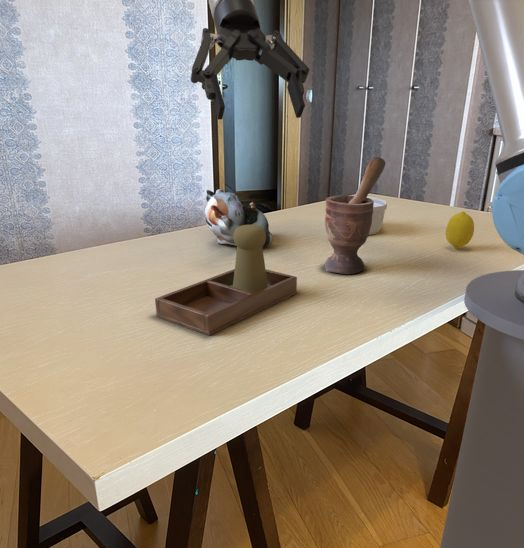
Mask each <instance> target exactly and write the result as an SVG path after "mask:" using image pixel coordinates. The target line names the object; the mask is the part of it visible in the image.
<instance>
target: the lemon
mask: <svg viewBox="0 0 524 548" xmlns="http://www.w3.org/2000/svg"><path fill="white" fill-rule="evenodd" d="M474 233H475V222H474V219H473V217H471V215H469V214H468V213H466V211H462V210H461V211H460V212H458V213H456V214H454V215H453V216H451V217H450V218H449V220H448V222H447V225H446V229H445V237H446V241H447V242H448V243H449V245H451V246H453V248H454V249H455V250H459V249H460V248H461V247H465V246H466V245H468V244H469V243H470V242H471V240H472V238H473V237H474Z"/></svg>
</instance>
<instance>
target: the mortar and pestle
mask: <svg viewBox="0 0 524 548" xmlns="http://www.w3.org/2000/svg"><path fill="white" fill-rule="evenodd" d="M385 166H386V161H385V159H384V158H381V157H379V156H374V157H372V158H371V160H370V161H369V162H368V165H367V166H366V168H365V172H364V175H363V177H362V180H361V182H360V183H359V187H358V189H357V190H356V193H355V194H354V195H346V194H340V195H331V196H328V197H326V198H325V216H324V217H325V218H324V227H325V228H324V229H325V232H326V234H327V235H326V236H327V237H326V238H327V241H328V242H329V244H330V245H331V247H332V249H333V253H332V254H331V256H329V257H327V258H326V260H325V262H324V269H325V270H326V271H325V272H331V273H336V274H342V275H343V274H344V275H353V274H357V273H361V272H362V271H364V269H365V263H364V261H363V259H362V258H361V257H360V256H359V255H358V251H359V250H360V248H361V247H362V246H364V244H365V243H366V242H367V240H368V238H369V237H368V236H370V235H369V232H370V228H371V224H372V215H373V204H374V201H373V200H371V199H369V198H366V197H368V195H369V194H370V192H371V191H372V189H373V187H374V186H375V184H376V183H377V182H378V180H379V179H380V177H381V175H382V173H383V172H384V169H385Z"/></svg>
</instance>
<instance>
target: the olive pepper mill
mask: <svg viewBox="0 0 524 548" xmlns="http://www.w3.org/2000/svg"><path fill="white" fill-rule="evenodd" d="M233 239H234V243H235V244H236V245H235V246H236V254H235V264H234V269H235V271H234V281H233V287H235V288H238V289H242V290H245V291H249V292H252V293H256V292H258V291H260V290H263V289H265V288H267V287H268V285H267V277H266V270H265V269H266V264H265V256H264V248H263V247H262V246H263V245H264V243H265V240H266V233H265V231H264V229H263V228H262V227H260V226H257V225H242V226H239V227H237V228H236V229H235V231H234V235H233Z"/></svg>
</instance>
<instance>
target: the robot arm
mask: <svg viewBox="0 0 524 548" xmlns="http://www.w3.org/2000/svg"><path fill="white" fill-rule="evenodd" d="M468 4H469V8H470V12H471V15H472V19H473V24H474V28H475V33H476V36H477V40H478V44H479V49H480V52H481V57H482V61H483V63H484V69H485V72H486V77H487V80H488V84H489V89H490V92H491V93H490V94H491V97H492V100H493V105H494V109H495V113H496V117H497V121H498V125H499V129H500V133H501V137H502V142H503V147H502V150H501V152H500V153H499V155H498V157H497V159H496V160H495V163H494V164H495V169H496V173H497V177H498V180H499V185H498V189H497V191H496V194H495V195H494V197H493V201H492V208H491V216H492V221H493V225H494V228H495V230H496V232H497V234H498V236H499V237H500V239H501V241H503V242H504V243H505V244H506V245H507V246H508V247H509V248H510V249H512V250H513V251H515V252H517V253H519V254H522V255H523V256H524V0H468ZM208 5H209V9H210V12H211V16H212V19H213V24H214V28H215V31H216V33H213V32H212V33H211V30H210V29H209V28H208V27H203V29H202V32H201V40H200V46H199V48H198V51H197V53H196V56H195V59H194V61H193V63H192V66H191V73H190V82H191V83H192V84H198V83H200V84H201V89H202V90H204V92H205V97H206V99H207V100H211V101H212V102H213V106H214V110H215V114H216V118H217V120H223V118H224V113H225V109H226V106H225V102H224V98H223V94H222V91H221V90H222V89H221V85H220V82H219V78H218V75H219V74H220V72H221V71H222V70H223V68H224V67H225V66H226V65H228V64H229V63H230V62H231V60H232V59H234V60H235V61H244V60H245V61H255V62H256V63H258V64H259V65H260V66H261V65H264V66H265V67H267V68H268V69H269V70H271V71H272V72H274V73H275V74H276V75H277V76H278V77H280V78H281V79H283V80H284V81H286V82H287V86H286V88H287V92H288V95H289V98H290V102H291V104H292V108H293V111H294V115H295V118H296V119H300V118H301V117H302V115H303V112H304V110H305V107H306V104H305V100H304V94H305V92H306V91H305V86H304V84H305V83H306V82H307V81H306V80H307V78H308V75H309V73H310V68H309V67H308V65H307V64H306V63H305V62H304V61H303V60H302V59H301V57H300V56H298V55H297V53H296V52H295V51H294V50H293V49H292V48H291V46H290V45H288V43H287V42H286V41H285V39H283V36H282V34H281V31H279V30H277V29H275V30H273V32H272V34H265V33H264V32H263V31H262V29H261V23H260V19H259V15H258V13H257V10H256V6H255V2H254V0H208ZM215 44H216V45H217V46H218V47H219V48H220V50H219V51H218V52H217V54H216V55H215V56H214V57H213V59H212V60H211V61H210V62H209V63H208V64H207V66H206V67H205V64H206V61H207V59H208V56H209V52H210V50H211V49H212V48H213V47H214V46H215ZM204 67H205V68H204ZM515 296H516V298H517V299H518V300H519V301H521V302H522V303H524V271H523V273H522V275H521V276H520V278H519V280H518V282H517V285H516V289H515Z"/></svg>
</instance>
